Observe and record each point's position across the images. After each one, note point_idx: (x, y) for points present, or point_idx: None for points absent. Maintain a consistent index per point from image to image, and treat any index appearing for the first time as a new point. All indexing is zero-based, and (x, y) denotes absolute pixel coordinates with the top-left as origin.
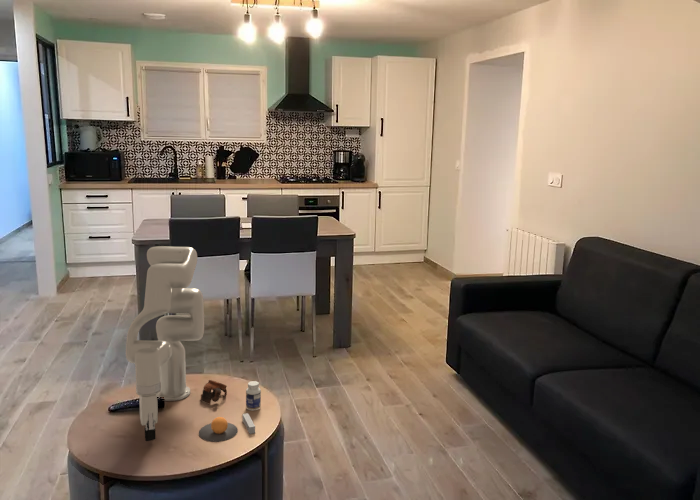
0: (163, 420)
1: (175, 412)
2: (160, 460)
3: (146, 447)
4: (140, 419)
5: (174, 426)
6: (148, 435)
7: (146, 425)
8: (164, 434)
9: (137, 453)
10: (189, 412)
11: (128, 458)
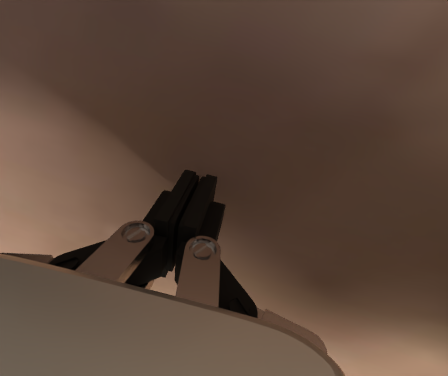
0: (405, 299)
1: (432, 349)
2: (31, 168)
3: (172, 152)
4: (86, 296)
5: (306, 304)
6: (154, 206)
7: (83, 266)
8: (260, 256)
9: (121, 87)
10: (379, 369)
11: (72, 10)
